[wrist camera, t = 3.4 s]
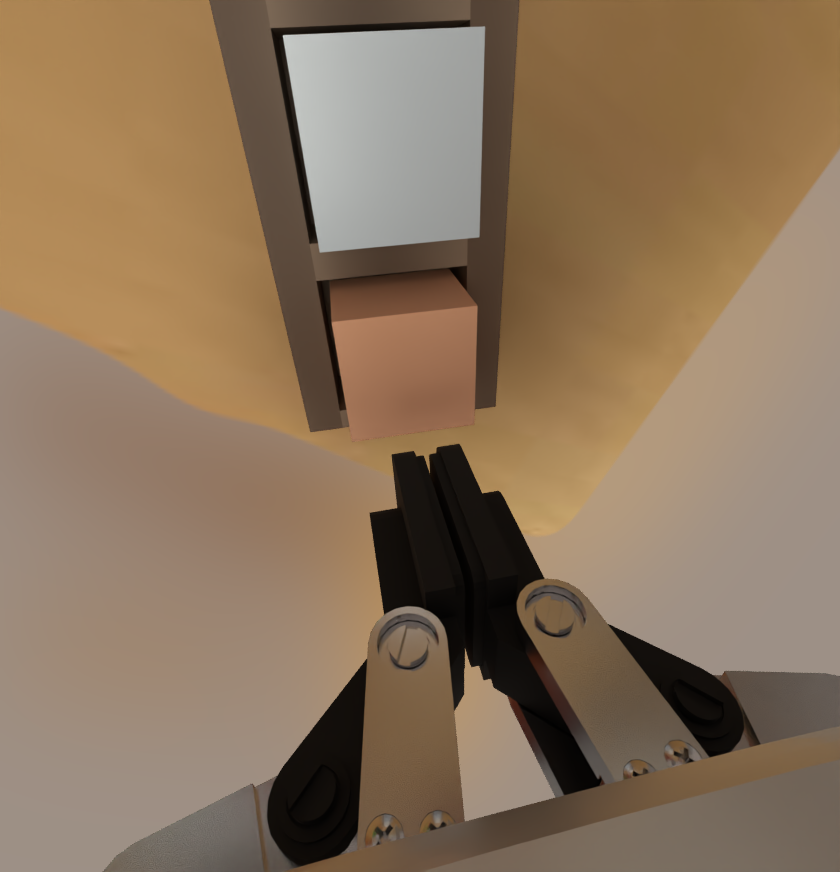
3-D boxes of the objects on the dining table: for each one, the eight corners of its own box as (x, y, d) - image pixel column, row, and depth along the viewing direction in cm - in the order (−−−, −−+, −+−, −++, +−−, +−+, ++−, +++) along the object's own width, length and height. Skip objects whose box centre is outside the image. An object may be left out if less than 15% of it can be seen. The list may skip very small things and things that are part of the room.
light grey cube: (446, 44, 14) (485, 26, 10) (448, 210, 16) (479, 237, 13) (291, 51, 13) (282, 35, 10) (319, 222, 16) (319, 252, 13)
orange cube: (448, 268, 17) (477, 305, 14) (449, 373, 20) (474, 424, 17) (329, 280, 17) (331, 322, 14) (346, 386, 20) (352, 441, 16)
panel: (486, -357, 11) (550, -533, 8) (471, 364, 23) (495, 406, 20) (148, -374, 11) (73, -580, 7) (311, 385, 22) (310, 432, 19)
